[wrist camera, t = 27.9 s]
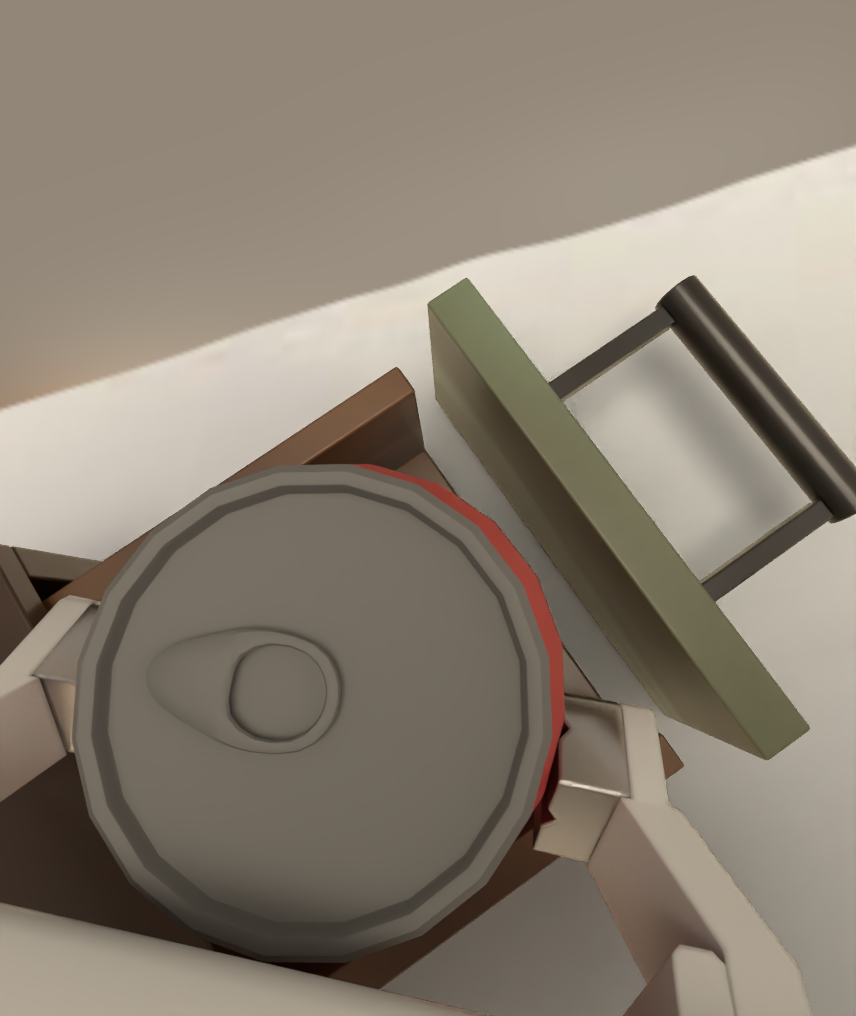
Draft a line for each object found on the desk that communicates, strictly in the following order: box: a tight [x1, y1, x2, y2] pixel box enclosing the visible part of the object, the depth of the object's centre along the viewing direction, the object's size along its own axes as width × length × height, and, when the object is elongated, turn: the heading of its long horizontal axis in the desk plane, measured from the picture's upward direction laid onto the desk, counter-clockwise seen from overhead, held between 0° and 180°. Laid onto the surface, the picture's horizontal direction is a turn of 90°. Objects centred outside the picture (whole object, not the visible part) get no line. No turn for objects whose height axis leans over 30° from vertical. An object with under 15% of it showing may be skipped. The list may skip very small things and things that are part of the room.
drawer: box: [42, 275, 856, 990], centre depth 18 cm, size 21×13×7 cm, turn 124°
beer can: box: [72, 464, 565, 963], centre depth 13 cm, size 7×7×12 cm
